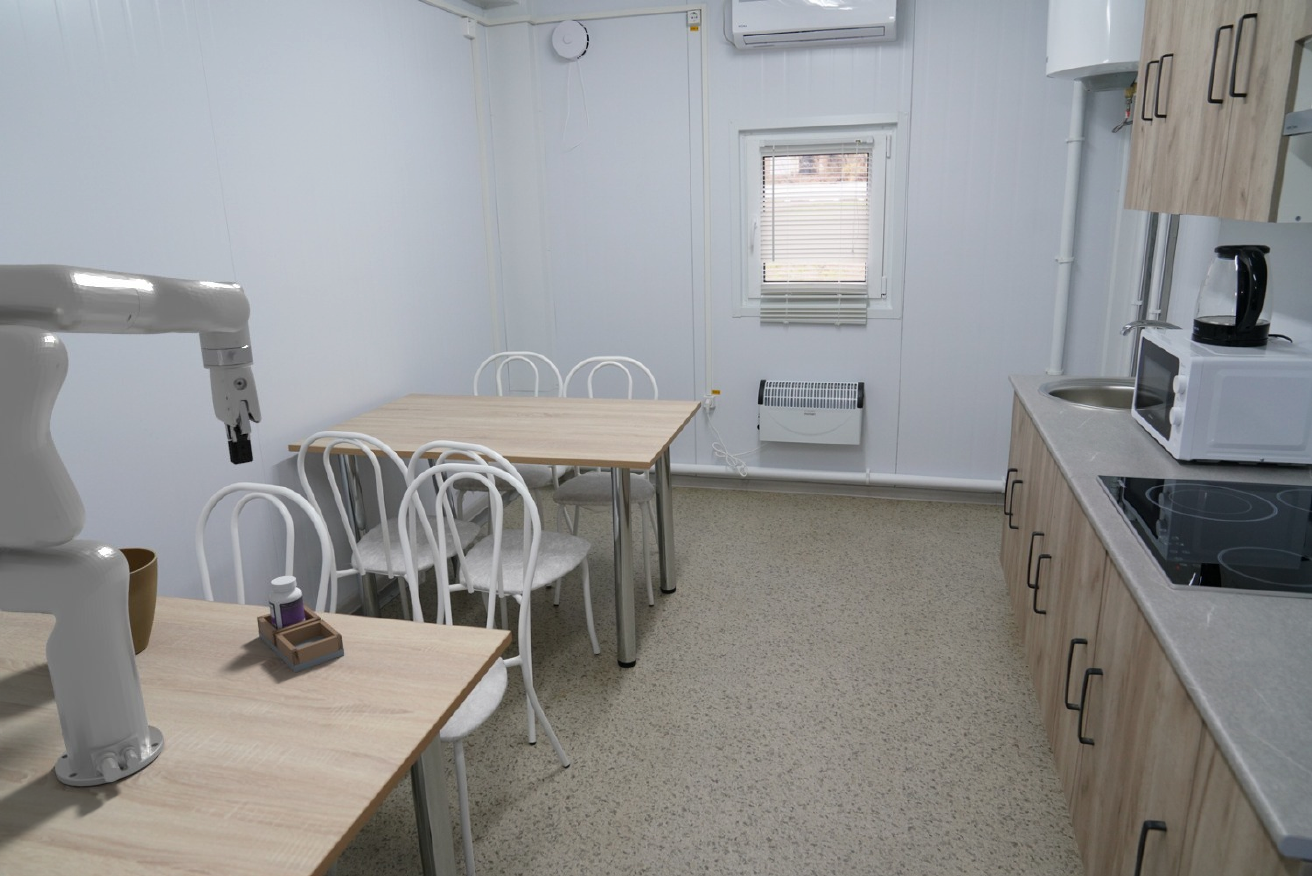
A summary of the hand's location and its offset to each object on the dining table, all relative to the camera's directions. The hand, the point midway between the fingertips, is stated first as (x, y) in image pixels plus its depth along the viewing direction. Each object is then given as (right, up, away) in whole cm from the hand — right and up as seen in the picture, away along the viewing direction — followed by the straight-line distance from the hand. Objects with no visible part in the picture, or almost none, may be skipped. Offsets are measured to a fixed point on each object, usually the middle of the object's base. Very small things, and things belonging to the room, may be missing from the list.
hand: (242, 462), depth 145 cm
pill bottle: (+7, -30, +3) cm, 31 cm away
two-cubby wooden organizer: (+10, -32, +1) cm, 33 cm away
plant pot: (-21, -33, 0) cm, 39 cm away
